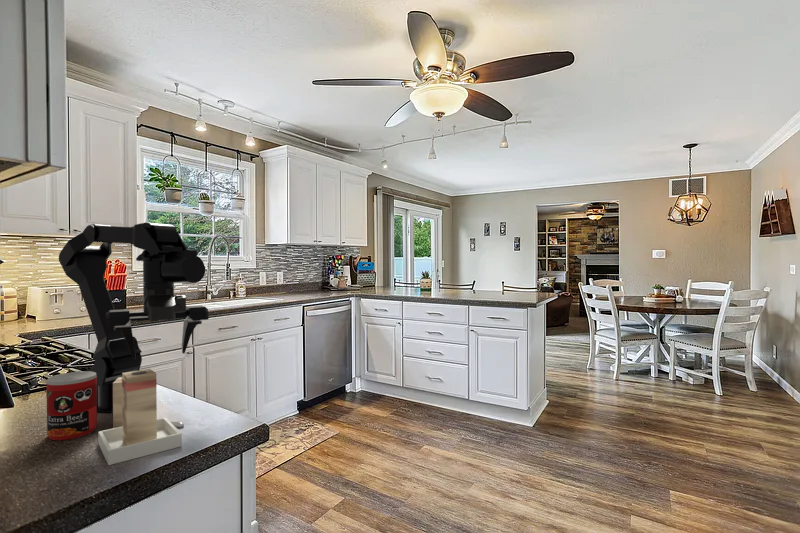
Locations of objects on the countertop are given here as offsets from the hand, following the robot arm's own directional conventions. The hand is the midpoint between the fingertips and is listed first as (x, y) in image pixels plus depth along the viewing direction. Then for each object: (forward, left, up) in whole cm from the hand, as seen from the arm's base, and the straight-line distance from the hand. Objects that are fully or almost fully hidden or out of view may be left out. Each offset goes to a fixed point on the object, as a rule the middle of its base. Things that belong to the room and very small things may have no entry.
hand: (159, 355), depth 93 cm
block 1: (-4, -4, -13) cm, 14 cm away
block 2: (+6, -14, -12) cm, 20 cm away
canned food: (-11, -10, -13) cm, 20 cm away
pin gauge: (+4, -5, -13) cm, 15 cm away
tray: (+6, -14, -13) cm, 20 cm away
